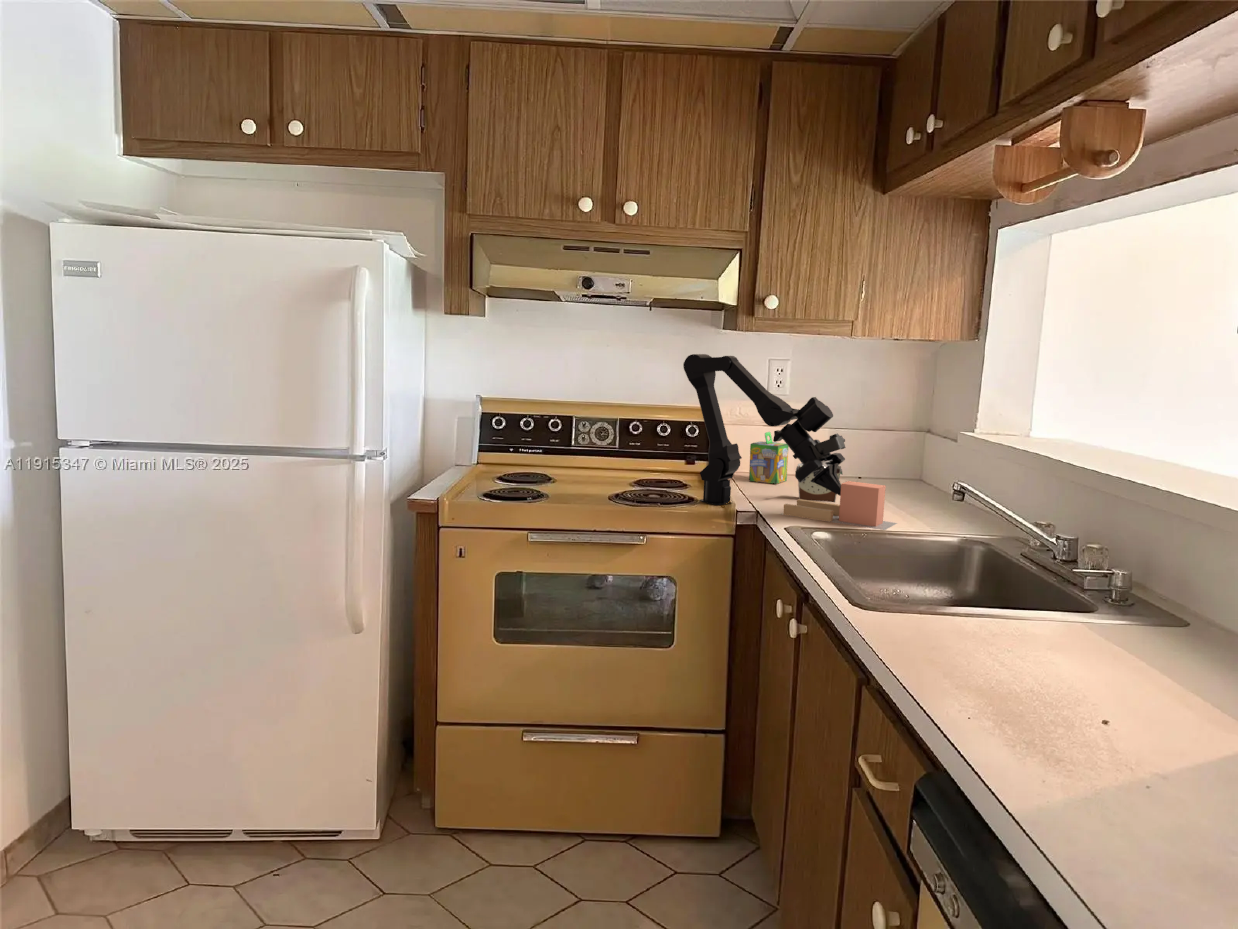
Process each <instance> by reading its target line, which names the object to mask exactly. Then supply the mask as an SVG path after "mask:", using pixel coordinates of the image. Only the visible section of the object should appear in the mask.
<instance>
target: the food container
mask: <svg viewBox="0 0 1238 929" xmlns="http://www.w3.org/2000/svg"><path fill="white" fill-rule="evenodd" d="M801 466H803V464H802V463H798V464H797V465H796V469H795V472H796V471H797V470H798V469H799V468H800V467H801ZM836 473H837V476H838V478H839V479H840V477H841V475H843V469H842V466H840V465H838V466H837V471H836ZM813 478H814V476H813V473H811V474H810V475H809V476H808V477H806V481H804V482H802V483H800V482H799V481H798V480H797V481H798V482H797V486H798V499H803V500H810V501H817V502H827V503H836V500H837V495H838V494H836V493H834V492H832V491H830V490H828V489H826V488H824V487H822V486H820V485H818V484H816V483H814V482H811V480H812V479H813Z"/></svg>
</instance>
